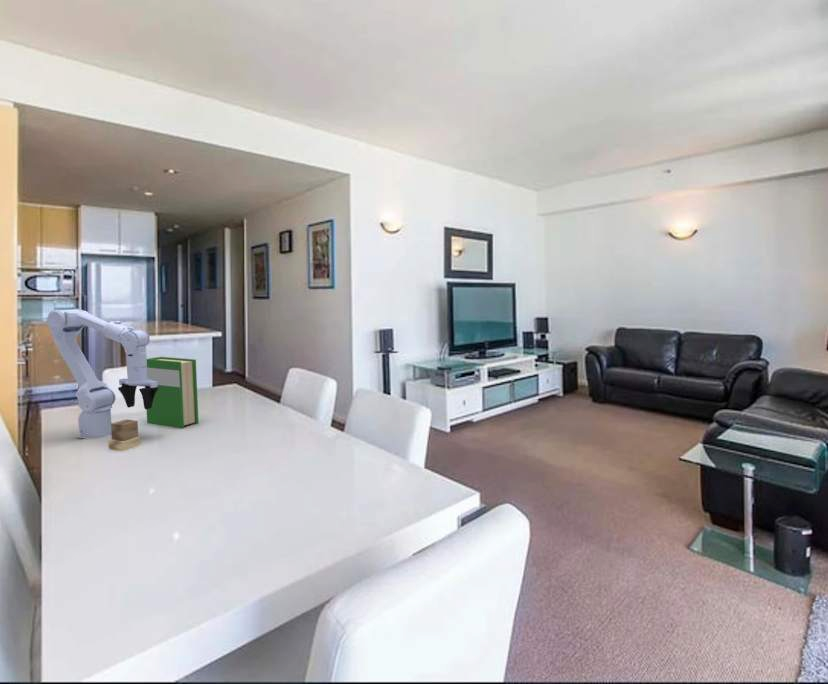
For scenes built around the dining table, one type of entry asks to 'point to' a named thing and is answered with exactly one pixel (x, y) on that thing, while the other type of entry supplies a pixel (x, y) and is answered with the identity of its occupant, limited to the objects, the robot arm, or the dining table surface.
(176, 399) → the hardback book
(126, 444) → the oak block
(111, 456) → the dining table surface
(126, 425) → the walnut cube
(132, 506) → the dining table surface
